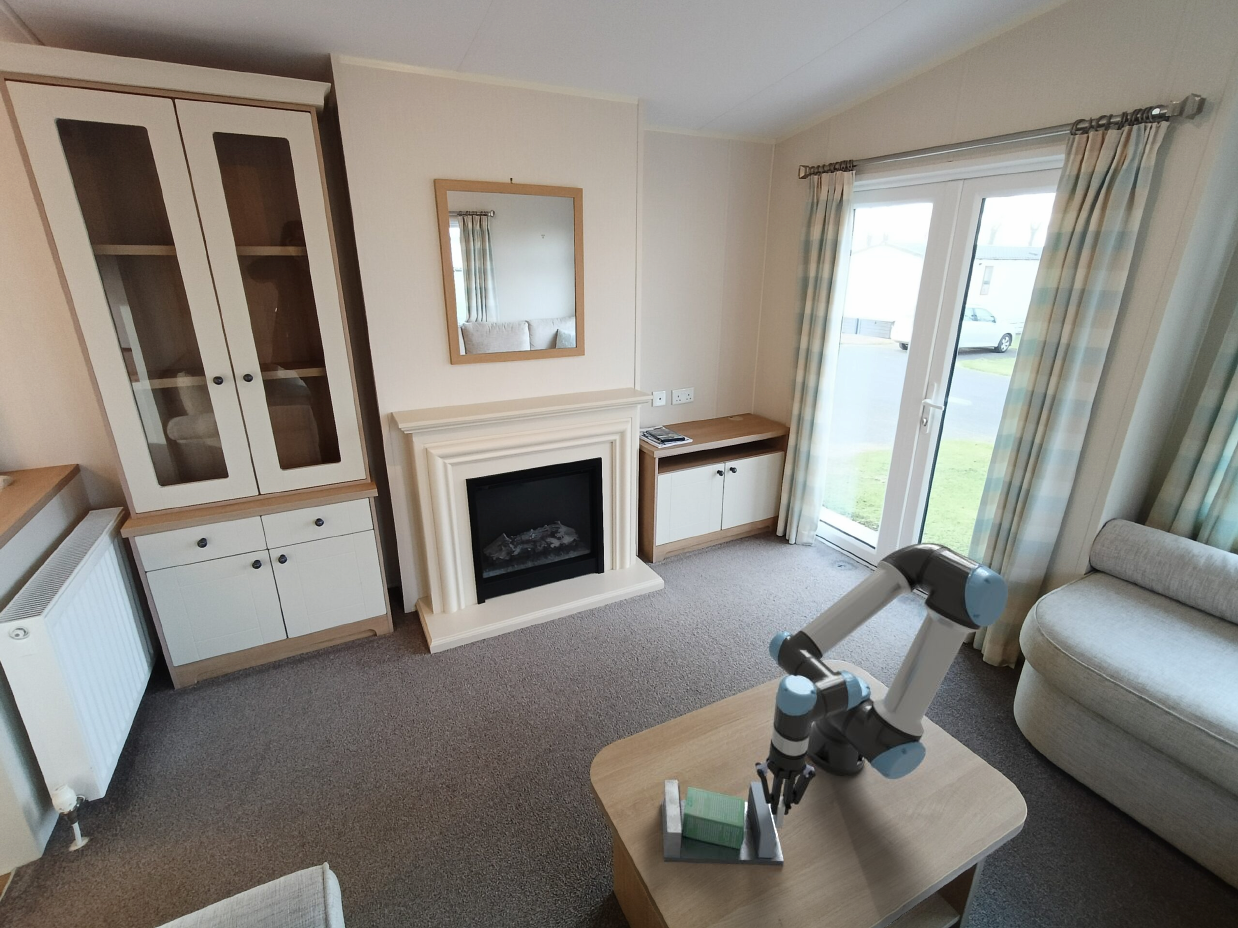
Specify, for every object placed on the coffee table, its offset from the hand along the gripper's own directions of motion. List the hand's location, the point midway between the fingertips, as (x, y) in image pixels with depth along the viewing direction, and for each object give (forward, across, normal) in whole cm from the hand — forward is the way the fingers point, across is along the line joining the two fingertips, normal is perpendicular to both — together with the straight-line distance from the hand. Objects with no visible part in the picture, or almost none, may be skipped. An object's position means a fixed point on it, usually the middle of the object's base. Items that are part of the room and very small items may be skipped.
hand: (777, 822), depth 129 cm
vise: (+4, +13, 0) cm, 14 cm away
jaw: (+2, +4, 0) cm, 5 cm away
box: (+3, +14, 0) cm, 15 cm away
